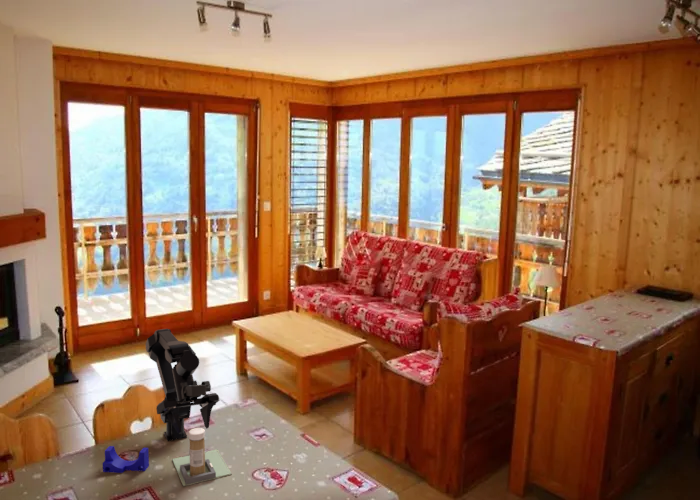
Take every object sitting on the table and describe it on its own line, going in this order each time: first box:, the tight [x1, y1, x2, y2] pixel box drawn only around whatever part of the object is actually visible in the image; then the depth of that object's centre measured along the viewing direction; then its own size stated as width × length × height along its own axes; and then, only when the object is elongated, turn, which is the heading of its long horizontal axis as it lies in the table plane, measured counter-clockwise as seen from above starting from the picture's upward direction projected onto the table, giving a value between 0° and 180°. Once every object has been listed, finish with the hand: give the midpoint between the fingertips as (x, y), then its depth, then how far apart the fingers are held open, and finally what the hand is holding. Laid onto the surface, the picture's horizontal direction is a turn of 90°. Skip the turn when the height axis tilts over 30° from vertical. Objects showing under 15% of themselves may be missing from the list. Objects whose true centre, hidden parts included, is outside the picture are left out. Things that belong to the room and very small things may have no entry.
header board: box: [172, 449, 232, 487], centre depth 169 cm, size 16×14×2 cm
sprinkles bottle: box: [188, 427, 206, 476], centre depth 164 cm, size 5×5×14 cm
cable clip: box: [102, 445, 150, 474], centre depth 167 cm, size 12×4×6 cm, turn 87°
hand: (194, 430), depth 170 cm, fingers open, 9 cm apart
